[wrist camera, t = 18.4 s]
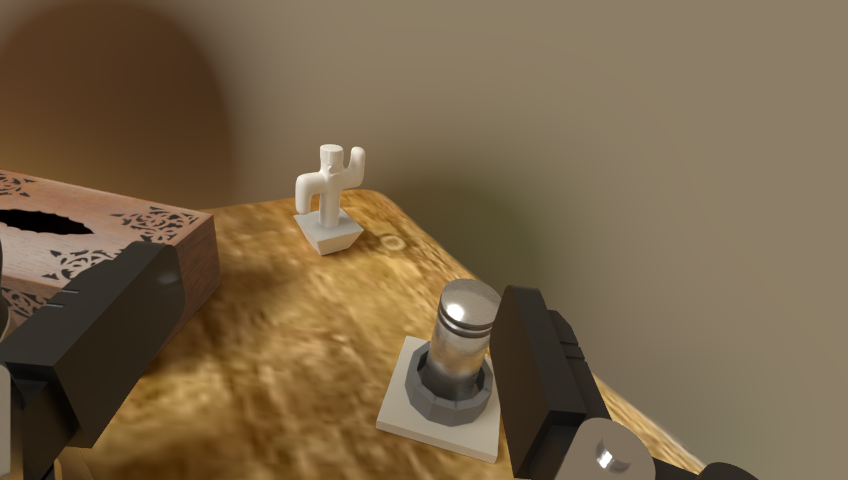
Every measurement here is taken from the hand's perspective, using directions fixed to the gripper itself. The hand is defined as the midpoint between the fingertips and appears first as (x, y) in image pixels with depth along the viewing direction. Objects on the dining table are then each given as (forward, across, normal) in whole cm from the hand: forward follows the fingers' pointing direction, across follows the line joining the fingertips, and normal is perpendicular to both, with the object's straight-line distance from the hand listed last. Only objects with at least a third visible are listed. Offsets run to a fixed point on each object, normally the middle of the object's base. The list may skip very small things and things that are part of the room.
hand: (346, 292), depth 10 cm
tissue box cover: (+26, -32, -28) cm, 50 cm away
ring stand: (+19, +9, -28) cm, 35 cm away
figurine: (+43, -7, -28) cm, 52 cm away
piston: (+19, +9, -27) cm, 34 cm away
